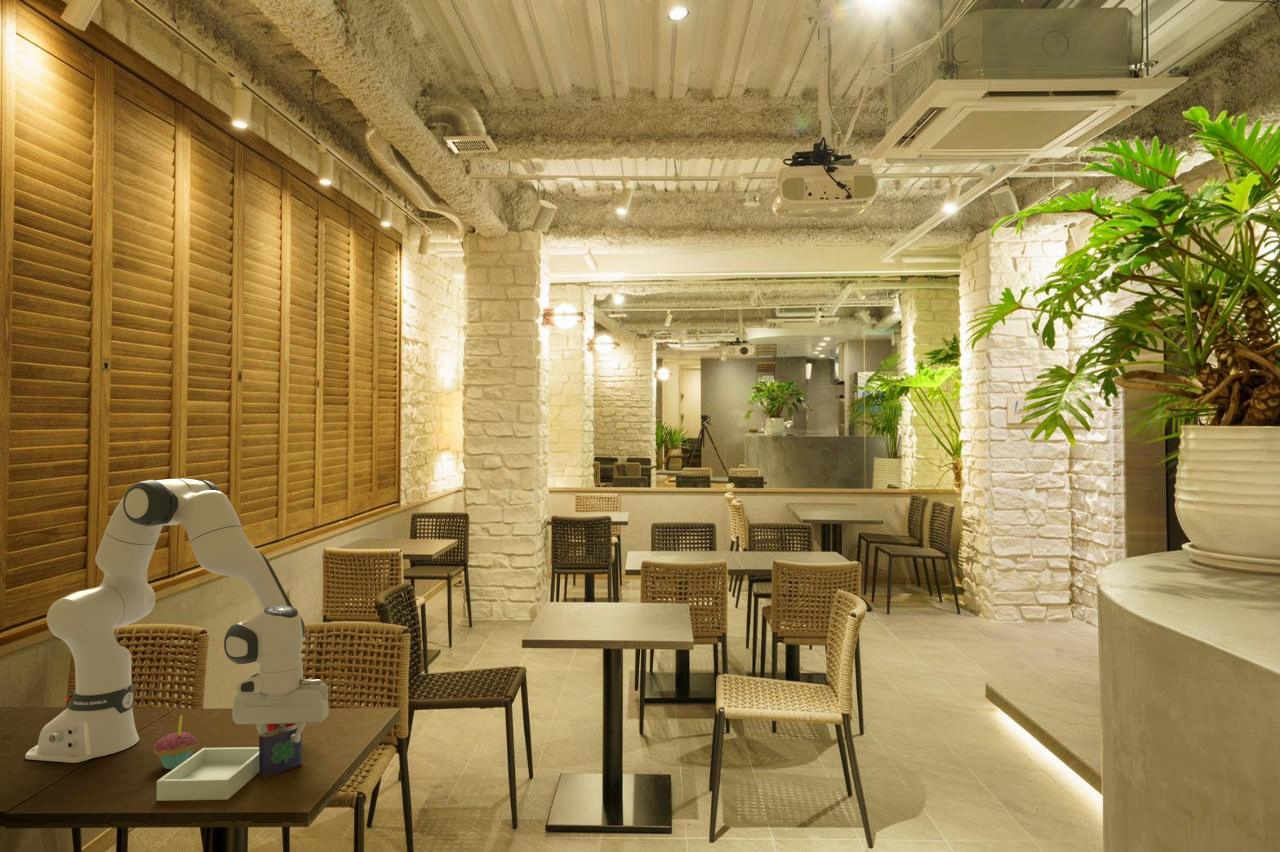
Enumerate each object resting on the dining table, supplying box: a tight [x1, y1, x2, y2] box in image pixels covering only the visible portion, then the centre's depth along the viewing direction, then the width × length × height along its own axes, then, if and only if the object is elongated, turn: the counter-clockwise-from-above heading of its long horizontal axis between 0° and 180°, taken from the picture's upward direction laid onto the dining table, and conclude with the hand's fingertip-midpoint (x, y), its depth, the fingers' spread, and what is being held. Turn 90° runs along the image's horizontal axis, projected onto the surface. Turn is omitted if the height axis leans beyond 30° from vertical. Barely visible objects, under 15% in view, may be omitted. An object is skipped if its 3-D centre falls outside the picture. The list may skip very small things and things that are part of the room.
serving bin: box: [156, 746, 259, 802], centre depth 162 cm, size 15×17×4 cm
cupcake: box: [152, 712, 198, 770], centre depth 171 cm, size 9×8×12 cm
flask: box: [258, 723, 303, 779], centre depth 167 cm, size 9×3×11 cm, turn 138°
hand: (281, 742), depth 167 cm, fingers closed on flask, 5 cm apart
